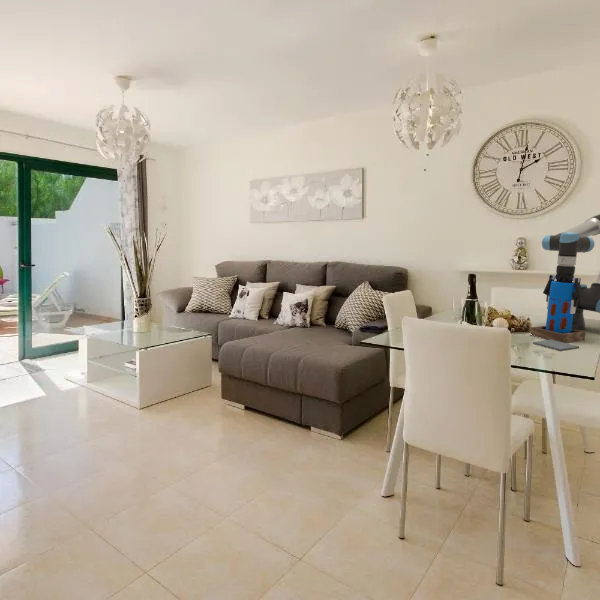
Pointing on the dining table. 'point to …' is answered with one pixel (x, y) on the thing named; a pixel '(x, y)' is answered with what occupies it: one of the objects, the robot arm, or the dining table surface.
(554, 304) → the blue box
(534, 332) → the tray
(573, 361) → the dining table surface
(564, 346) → the mat
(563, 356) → the dining table surface
